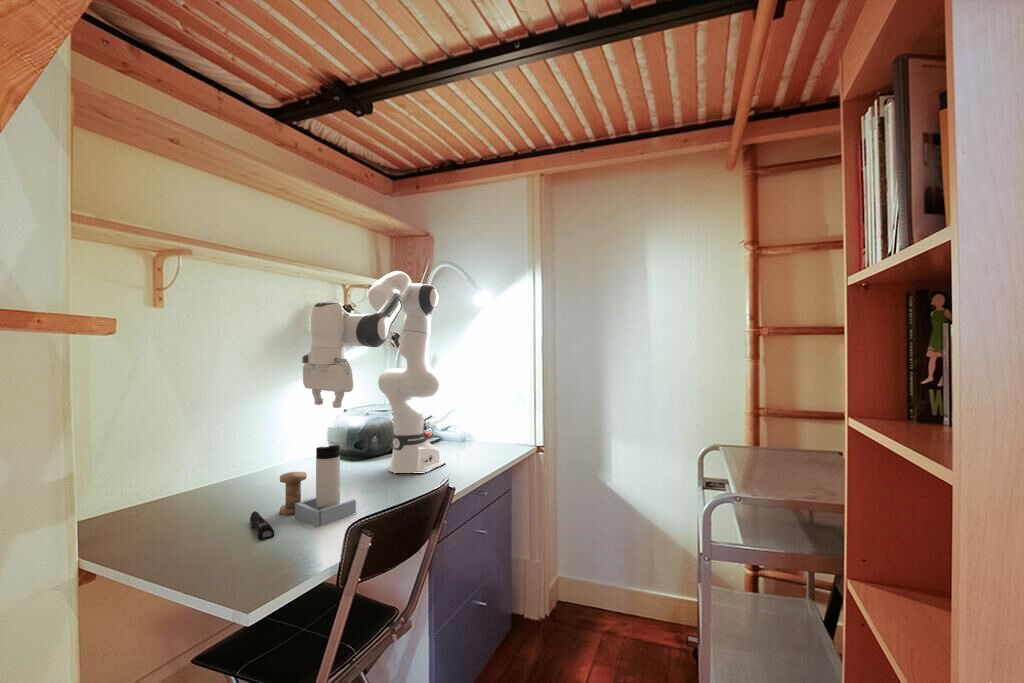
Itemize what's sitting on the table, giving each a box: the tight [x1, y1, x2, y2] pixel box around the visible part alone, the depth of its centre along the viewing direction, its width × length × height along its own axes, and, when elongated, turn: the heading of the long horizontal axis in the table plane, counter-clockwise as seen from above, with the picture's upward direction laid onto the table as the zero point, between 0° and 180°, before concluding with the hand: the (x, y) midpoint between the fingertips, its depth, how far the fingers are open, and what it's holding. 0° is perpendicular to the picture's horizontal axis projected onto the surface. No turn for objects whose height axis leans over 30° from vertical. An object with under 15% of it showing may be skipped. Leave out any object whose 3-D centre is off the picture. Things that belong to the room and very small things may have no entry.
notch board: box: [294, 496, 357, 528], centre depth 127 cm, size 12×11×4 cm
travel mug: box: [315, 444, 341, 510], centre depth 127 cm, size 6×7×20 cm
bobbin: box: [279, 471, 307, 516], centre depth 130 cm, size 7×7×10 cm
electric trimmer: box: [249, 510, 275, 542], centre depth 117 cm, size 4×16×3 cm, turn 40°
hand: (327, 406), depth 128 cm, fingers open, 8 cm apart
